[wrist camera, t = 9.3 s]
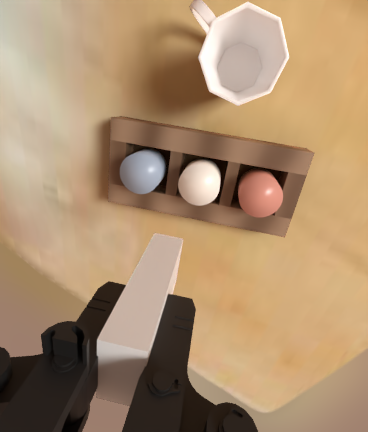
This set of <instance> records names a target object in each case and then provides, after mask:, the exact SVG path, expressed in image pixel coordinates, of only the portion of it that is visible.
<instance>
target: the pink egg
mask: <svg viewBox="0 0 368 432" xmlns="http://www.w3.org/2000/svg"><path fill="white" fill-rule="evenodd" d="M238 195H239V203H240V206H241V208H242V209H243V210H244V211H245V212H246V213H247V214H248V215H250V216H253V217H267V216H269V215H271V214H273V213H275V212H276V211H277V210H278V209H279V207H280V206H281V204H282V201H283V191H282V189H281V187H280V185H279V184H278V182H277V180H276V179H275V177H274V176H273V174H272V173H270V172H269V171H267V170H265V169H261V168H255V169H251V170H249V171H247V172H246V173H244V174H243V175H242V177H241V178H240V180H239V182H238Z"/></svg>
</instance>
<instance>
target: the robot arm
mask: <svg viewBox="0 0 368 432" xmlns="http://www.w3.org/2000/svg"><path fill="white" fill-rule="evenodd" d="M182 243H183V239H182V238H177V237H172V236H167V235H163V234H158V233H154V235H153V237H152V238H151V240H150V242H149V244H148V246H147V248H146V249H145V251H144V253H143V255H142V257H141V259H140V261H139V262H138V264H137V266H136V268H135V270H134V272H133V274H132V275H131V277H130V279H129V281H128V283H127V285H123V284H119V283H114V282H110V281H109V282H107V283H106V284H104V285H103V286H101V287H100V288H98V290H97V291H96V293H95V294H94V296H93V297H92V300H90V302H89V303H88V305H87V307H86V308H85V309H84V311H83V312H82V314H81V315H80V317H79V318H78V320H77V321H76V322H72V321H66V322H62V323H57V324H55V325H53V326H51V327H49V328H48V329H47V330H46V331H45V332H44V333H42V334H41V339H42V348H43V354H40V355H34V356H22V357H10V355H9V353H8V352H7V351H6V350H5V348H1V347H0V432H82V430H83V428H84V426H85V424H86V421H87V419H88V415H89V411H90V402H91V400H92V398H93V396H94V393H95V391H96V392H97V393H96V395H97V396H96V397H97V398H99V399H103V400H107V401H111V402H115V403H119V404H123V405H127V406H130V408H129V411H128V415H127V417H126V421H125V424H124V427H123V430H122V432H258V430H257V428H256V426H255V423H254V421H253V419H252V418H251V417H250V416H249V414H248V413H247V412H246V411H245V410H244V409H243V408H241V407H239V406H238V405H236V404H233V403H227V402H226V403H221V404H218V405H214V404H213V403H211V402H210V401H208V400H207V399H205V398H204V397H202V396H201V395H200V394H199V393H197V392H196V391H195V389H194V388H193V387H192V385H191V383H190V381H189V378H188V374H187V365H188V358H189V351H190V345H191V338H192V330H193V324H194V317H195V311H196V309H195V306H194V303H193V300H192V299H190V298H186V297H181V296H177V295H172V294H173V291H174V287H175V284H176V279H177V273H178V267H179V261H180V255H181V249H182ZM96 389H97V390H96Z"/></svg>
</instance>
